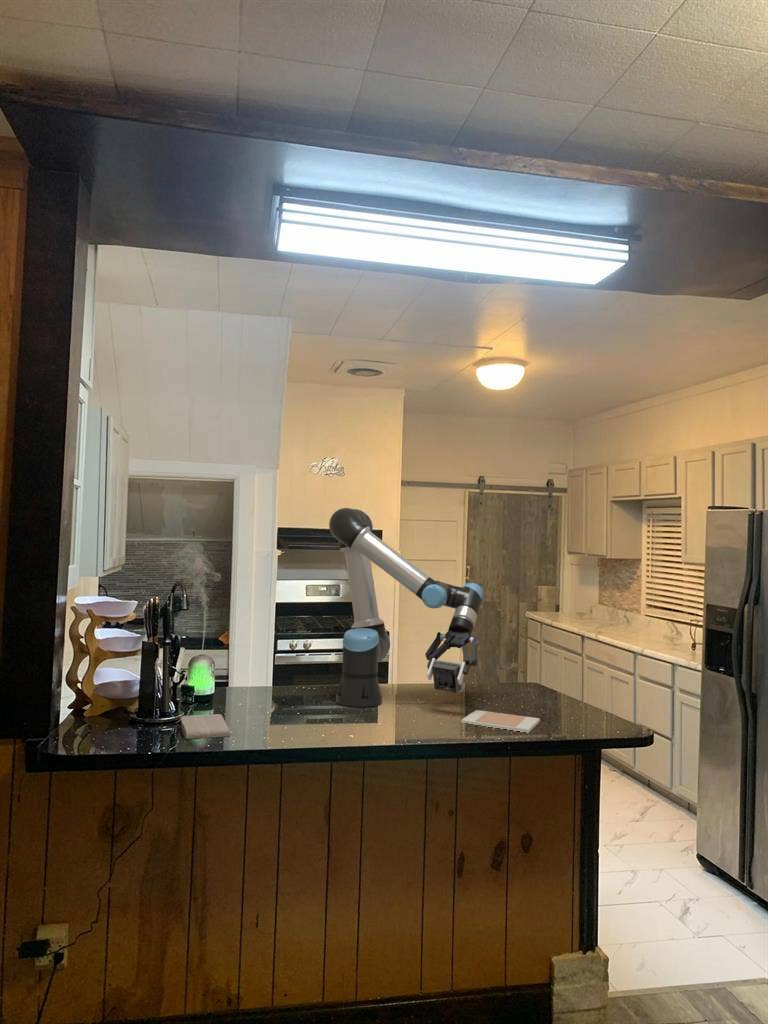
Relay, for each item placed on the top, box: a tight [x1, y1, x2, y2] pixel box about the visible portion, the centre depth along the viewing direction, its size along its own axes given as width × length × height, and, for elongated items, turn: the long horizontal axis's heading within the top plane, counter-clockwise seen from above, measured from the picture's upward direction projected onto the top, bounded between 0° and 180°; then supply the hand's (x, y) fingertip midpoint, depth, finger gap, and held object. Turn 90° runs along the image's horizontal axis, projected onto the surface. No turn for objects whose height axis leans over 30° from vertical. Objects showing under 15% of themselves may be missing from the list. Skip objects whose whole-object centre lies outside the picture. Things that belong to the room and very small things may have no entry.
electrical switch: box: [432, 659, 465, 694], centre depth 223 cm, size 9×5×9 cm, turn 57°
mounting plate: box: [460, 709, 541, 734], centre depth 214 cm, size 20×15×1 cm
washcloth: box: [180, 713, 231, 740], centre depth 196 cm, size 12×18×3 cm, turn 22°
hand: (443, 679), depth 220 cm, fingers closed on electrical switch, 9 cm apart
